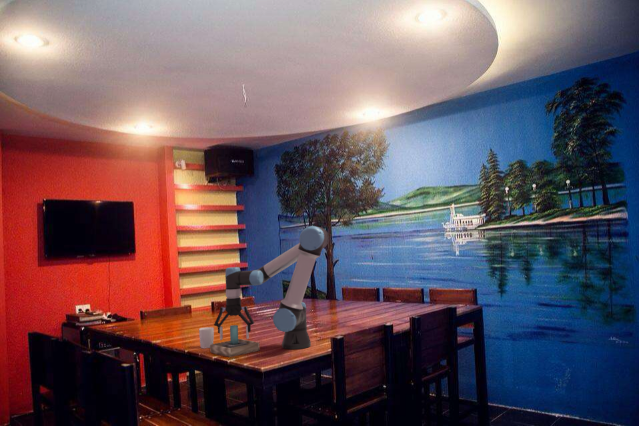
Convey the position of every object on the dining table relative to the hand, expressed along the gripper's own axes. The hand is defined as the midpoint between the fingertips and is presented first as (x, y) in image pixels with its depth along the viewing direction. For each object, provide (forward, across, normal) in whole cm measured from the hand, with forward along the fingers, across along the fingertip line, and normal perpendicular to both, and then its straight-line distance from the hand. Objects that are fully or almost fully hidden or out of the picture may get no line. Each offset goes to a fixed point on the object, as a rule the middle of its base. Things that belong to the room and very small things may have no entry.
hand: (234, 339), depth 240 cm
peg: (+5, 0, 0) cm, 5 cm away
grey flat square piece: (+6, 0, 0) cm, 6 cm away
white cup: (+6, +18, -14) cm, 24 cm away
